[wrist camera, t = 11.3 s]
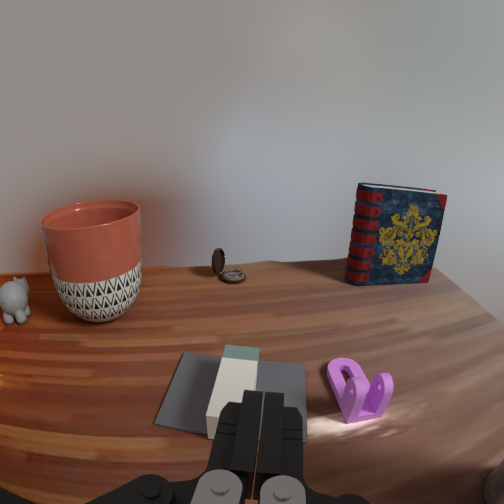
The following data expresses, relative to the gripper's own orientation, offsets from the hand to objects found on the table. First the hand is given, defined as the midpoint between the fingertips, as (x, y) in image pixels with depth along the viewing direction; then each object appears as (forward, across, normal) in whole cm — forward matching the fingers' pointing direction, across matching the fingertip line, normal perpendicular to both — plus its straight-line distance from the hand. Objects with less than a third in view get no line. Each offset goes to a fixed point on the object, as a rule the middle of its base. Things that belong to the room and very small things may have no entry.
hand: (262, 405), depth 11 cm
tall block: (+15, +4, +23) cm, 28 cm away
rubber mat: (+24, +4, +26) cm, 36 cm away
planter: (+40, +34, +26) cm, 59 cm away
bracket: (+27, -13, +26) cm, 40 cm away
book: (+67, -30, +26) cm, 78 cm away
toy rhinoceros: (+34, +54, +26) cm, 69 cm away
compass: (+63, +11, +26) cm, 69 cm away
